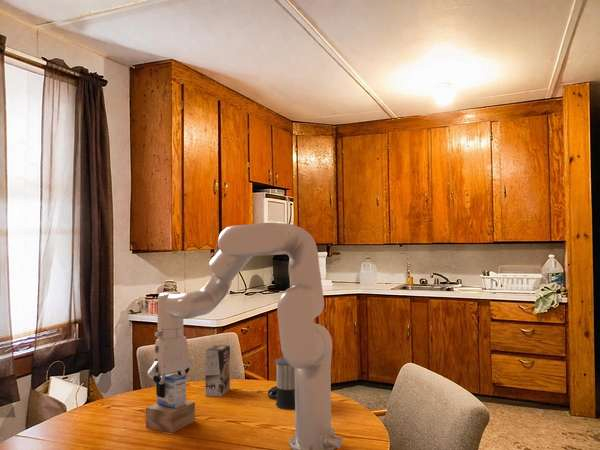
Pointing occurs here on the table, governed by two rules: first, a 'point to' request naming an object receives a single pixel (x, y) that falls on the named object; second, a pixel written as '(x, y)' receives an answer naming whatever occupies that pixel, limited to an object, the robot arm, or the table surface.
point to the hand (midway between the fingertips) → (170, 393)
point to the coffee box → (217, 370)
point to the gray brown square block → (169, 417)
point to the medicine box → (173, 391)
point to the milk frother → (284, 385)
